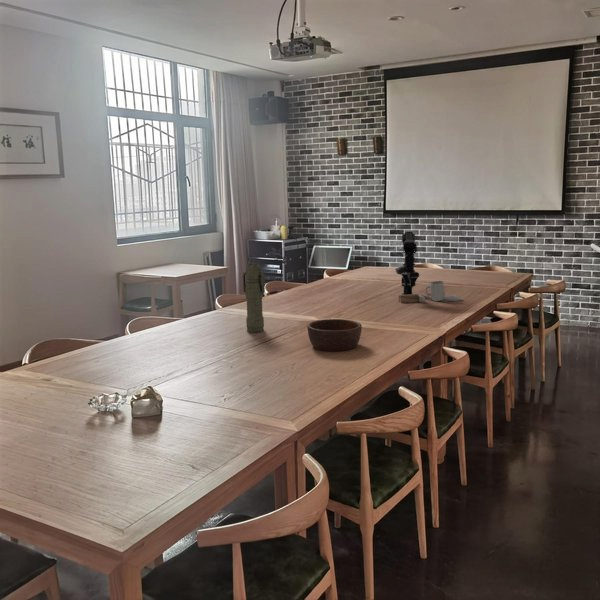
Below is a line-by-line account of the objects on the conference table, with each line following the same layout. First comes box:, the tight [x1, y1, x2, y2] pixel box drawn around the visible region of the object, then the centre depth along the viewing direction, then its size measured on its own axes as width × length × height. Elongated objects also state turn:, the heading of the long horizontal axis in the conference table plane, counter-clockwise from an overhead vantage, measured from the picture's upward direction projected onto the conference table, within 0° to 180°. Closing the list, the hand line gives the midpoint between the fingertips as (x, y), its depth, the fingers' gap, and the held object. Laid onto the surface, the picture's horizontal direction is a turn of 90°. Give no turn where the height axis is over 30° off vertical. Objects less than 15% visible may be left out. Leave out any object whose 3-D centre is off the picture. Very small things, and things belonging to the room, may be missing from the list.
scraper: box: [398, 293, 426, 304], centre depth 388 cm, size 11×14×4 cm
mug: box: [424, 280, 446, 302], centre depth 391 cm, size 12×8×11 cm
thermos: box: [242, 262, 266, 334], centre depth 316 cm, size 9×12×35 cm
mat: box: [441, 295, 464, 303], centre depth 393 cm, size 15×14×1 cm
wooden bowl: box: [307, 318, 363, 352], centre depth 286 cm, size 25×25×10 cm
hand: (408, 286), depth 387 cm, fingers open, 9 cm apart
